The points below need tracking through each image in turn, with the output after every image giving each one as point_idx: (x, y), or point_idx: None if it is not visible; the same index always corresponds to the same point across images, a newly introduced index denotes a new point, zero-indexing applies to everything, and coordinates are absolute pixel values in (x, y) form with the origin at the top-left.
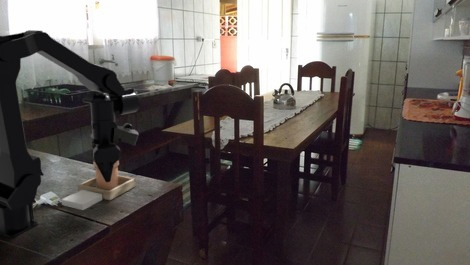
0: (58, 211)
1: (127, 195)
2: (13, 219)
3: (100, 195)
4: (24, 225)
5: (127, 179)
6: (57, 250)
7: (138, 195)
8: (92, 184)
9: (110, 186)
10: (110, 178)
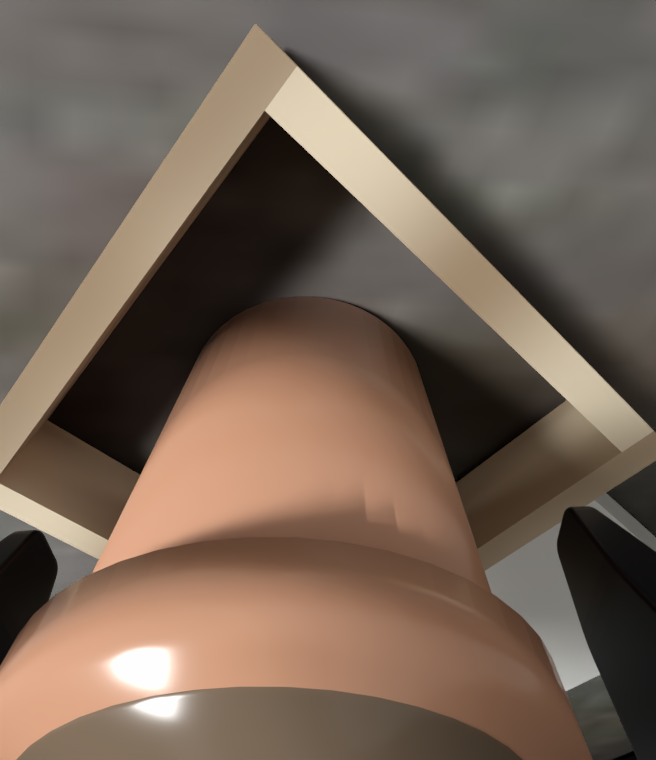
0: None
1: (548, 196)
2: None
3: (600, 502)
4: None
5: (209, 189)
6: None
7: (627, 27)
8: None
9: (437, 427)
10: (640, 546)
